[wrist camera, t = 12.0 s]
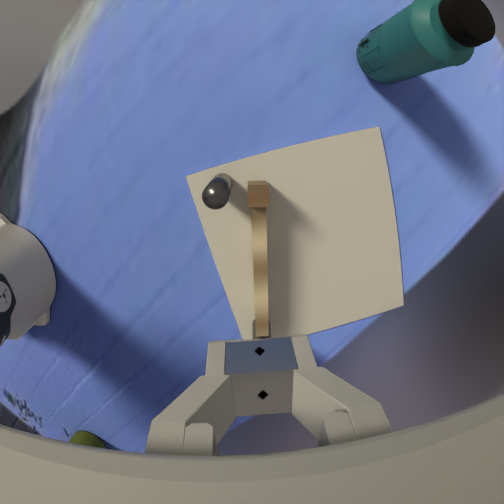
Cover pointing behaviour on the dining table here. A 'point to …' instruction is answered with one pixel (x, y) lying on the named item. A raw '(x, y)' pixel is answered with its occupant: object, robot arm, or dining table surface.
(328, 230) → the mat
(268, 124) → the dining table surface
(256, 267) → the gate
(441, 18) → the beverage bottle
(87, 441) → the plant pot
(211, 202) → the post
